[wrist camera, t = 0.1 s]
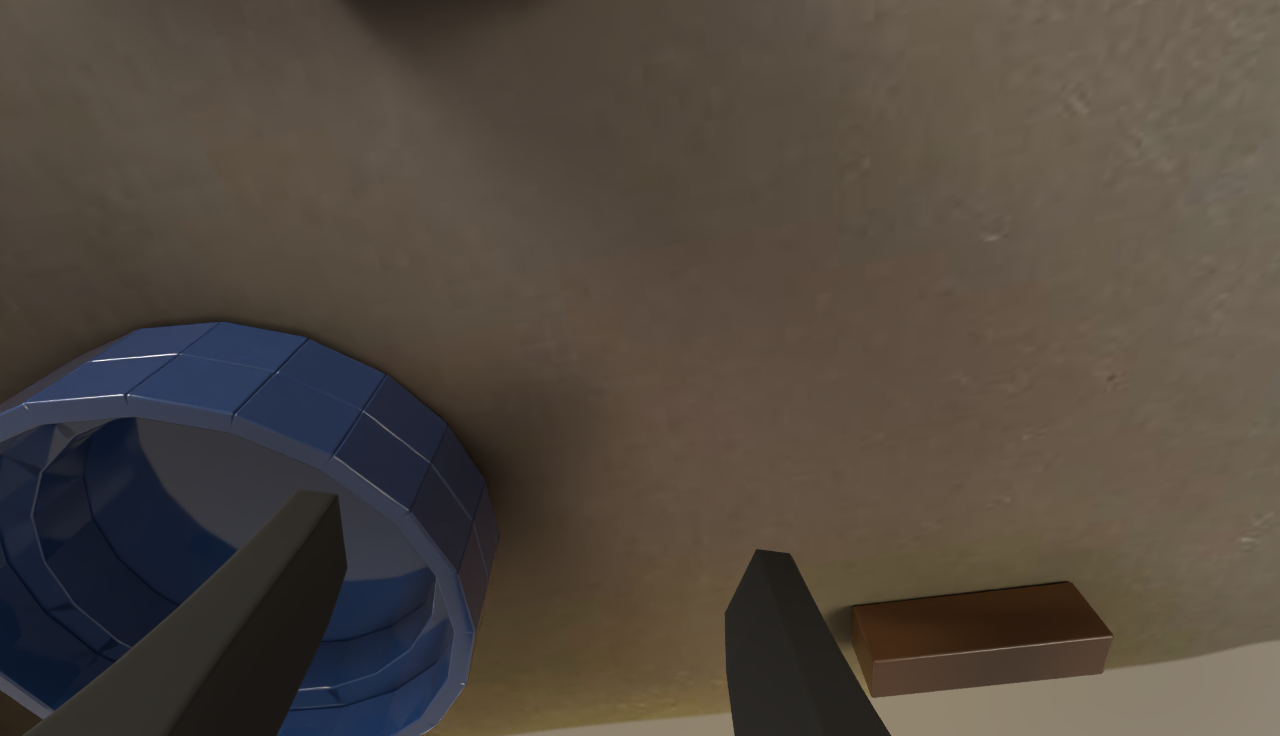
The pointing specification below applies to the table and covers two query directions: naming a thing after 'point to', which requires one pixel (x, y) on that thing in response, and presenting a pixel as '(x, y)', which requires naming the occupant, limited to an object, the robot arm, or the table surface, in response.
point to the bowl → (238, 516)
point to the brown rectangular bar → (979, 640)
